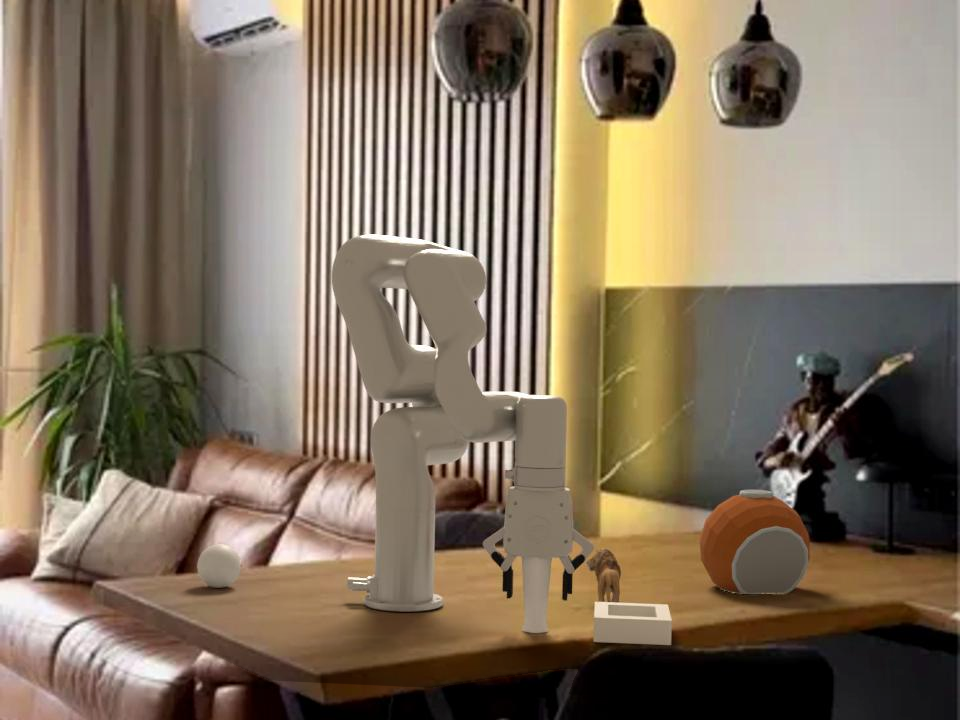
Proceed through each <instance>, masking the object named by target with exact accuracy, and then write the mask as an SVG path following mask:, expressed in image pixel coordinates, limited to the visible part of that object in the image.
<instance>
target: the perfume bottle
mask: <svg viewBox="0 0 960 720" xmlns="http://www.w3.org/2000/svg"><path fill="white" fill-rule="evenodd" d="M552 560H553V558H544V557H521V568H522V569H521V570H522V587H523V589H522V591H523V594H522V595H523V613H524V622H523V625H522V628H521V632H525V633H531V634H541V633H548V632H549V629H548V625H547V614H548V602H549V590H550V580H551V573H552V572H551V571H552Z"/></svg>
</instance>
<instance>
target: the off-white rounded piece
mask: <svg viewBox="0 0 960 720" xmlns="http://www.w3.org/2000/svg"><path fill="white" fill-rule="evenodd" d="M242 566H243V565H242V561H241V558H240V555H239V553H238V552H237V551H236V550H235V549H234V547H232V546H229V545H227V544H225V543H224V544H223V543H217V544H212V545H210V546H208V547H206V548H204V550H203V551H202V552H201V554H200V556H199V557H198V560H197V564H196V569H197V574H198V576H199V577H200V580H201V581H203V582H204V583H205V584H206V586H207V585H208V586H209V587H211V588H219V589H220V588H225V587H228V586H230V585H232V584H233V583H234V582H235V581H236V580H237V579H238V578H239V575H240V573H241V568H242Z"/></svg>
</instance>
